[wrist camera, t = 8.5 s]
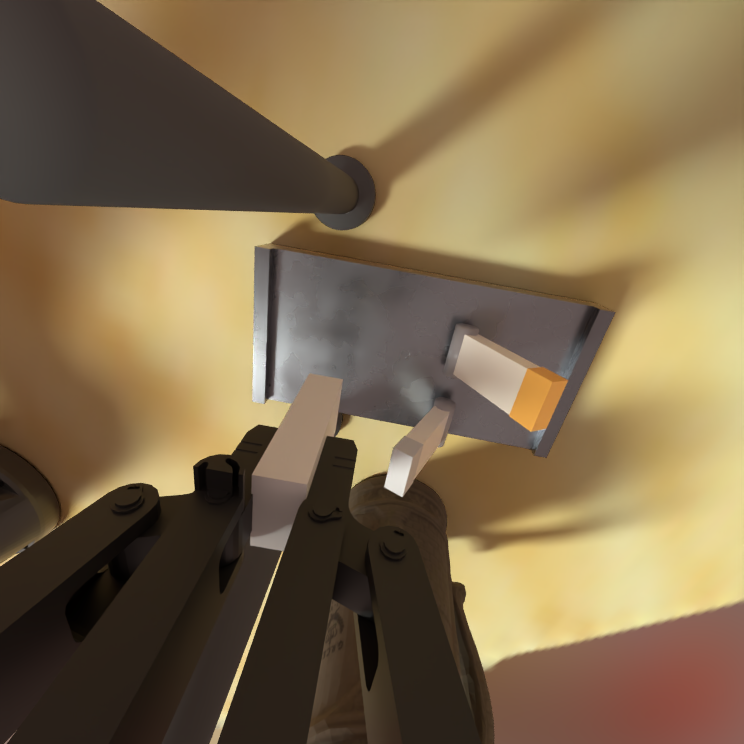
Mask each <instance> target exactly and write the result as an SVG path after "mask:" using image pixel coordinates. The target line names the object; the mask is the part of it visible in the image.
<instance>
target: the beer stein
mask: <svg viewBox="0 0 744 744" xmlns="http://www.w3.org/2000/svg"><path fill="white" fill-rule="evenodd" d="M386 477H387V475H384V476H377V477H373V478H370V479H367V480H364V481H362V482H360V483H359V484H357V485H356V486H355V487H353V488H352V489H351V491H350V497H349V509H350V512H351V514H352V516H353V517H354V518H355V519H356V520H357V521H358V522H359V523H360V524H362V525H364V526H365V527H367V528H369V529H371V530H373V531H375V530H376V529H378V528H379V527H384V526H395V527H399V528H401V529H403V530H405V531H407V532H408V533H409V534H410V535H411V536H412V537H413V538H414V540H415V541H416V543H417V545H418V548H419V551H420V554H421V557H422V560H423V563H424V566H425V569H426V572H427V576H428V579H429V582H430V585H431V588H432V591H433V594H434V597H435V600H436V604H437V607H438V610H439V613H440V616H441V619H442V622H443V625H444V628H445V632H446V635H447V638H448V641H449V644H450V647H451V650H452V653H453V656H454V660H455V663H456V666H457V669H458V672H459V675H460V678H461V681H462V685H463V688H464V691H465V694H466V697H467V700H468V703H469V706H470V709H471V713H472V716H473V719H474V722H475V725H476V728H477V731H478V734H479V737H480V741H481V744H494V720H493V714H492V706H491V701H490V696H489V691H488V687H487V683H486V679H485V675H484V671H483V667H482V664H481V661H480V658H479V655H478V651H477V648H476V645H475V643H474V640H473V637H472V635H471V632H470V629H469V626H468V623H467V620H466V616H465V613H464V610H463V603H464V601H465V596H466V591H465V586H464V585H463V584H461V583H458V582H452V579H451V574H450V559H449V550H448V539H447V536H446V527H447V514H446V510H445V507H444V504H443V502H442V500H441V499H440V497H439V496H438V495H437V494H436V493H435V491H434V490H432V489H431V488H429V487H428V486H426V485H425V484H423V483H421V482H419V481H417V480H414V481H413V483H412V485H411V486H410V488H409V489H408V490H407V492H406V493H405V494H404V496H403V497H401V496H399V495H397V494H396V493H394V492H392V491H390V490H388V489H386V488H385V487H384V486H385V481H386ZM307 744H368V741H367V732H366V723H365V714H364V705H363V696H362V687H361V678H360V669H359V660H358V651H357V642H356V633H355V624H354V615H353V611H352V610H350V609H348V608H347V607H345V606H343V605H341V604H340V603H338V602H336V601H335V600H333V599H332V602H331V607H330V613H329V619H328V625H327V630H326V636H325V642H324V647H323V653H322V659H321V665H320V670H319V676H318V682H317V688H316V693H315V699H314V705H313V710H312V716H311V722H310V728H309V733H308V739H307Z"/></svg>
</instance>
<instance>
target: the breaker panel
mask: <svg viewBox="0 0 744 744" xmlns="http://www.w3.org/2000/svg"><path fill="white" fill-rule="evenodd" d="M614 314H615V312H614V311H612V310H609V309H607V308H605V307H603V306H601V305H599V304H596V303H594V302H589V301H583V300H578V299H572V298H567V297H561V296H556V295H550V294H545V293H539V292H534V291H529V290H523V289H518V288H512V287H507V286H501V285H496V284H490V283H485V282H479V281H474V280H468V279H463V278H457V277H452V276H446V275H441V274H435V273H430V272H424V271H419V270H413V269H408V268H402V267H397V266H391V265H386V264H380V263H375V262H369V261H364V260H358V259H353V258H347V257H342V256H336V255H331V254H325V253H320V252H314V251H309V250H304V249H298V248H293V247H287V246H282V245H276V244H271V243H270V244H265V245H260V246H255V268H254V332H253V396H252V402H257V403H263V404H265V402H266V401H267V400H268V399H270V400H276V401H281V402H286V403H291V404H292V403H293V401H294V400H295V398H296V396H297V394H298V392H299V391H300V389H301V387H302V385H303V384H304V382H305V380H306V378H307V377H308V375H309V373H311V374H316V375H322V376H327V377H333V378H339V379H343V382H342V389H341V396H340V403H339V410H338V413H344V414H349V415H354V416H359V417H365V418H370V419H375V420H380V421H386V422H391V423H396V424H401V425H406V426H412V427H415V426H416V425H417V424H418V423H419V422H420V421H421V420H422V419H423V417H424V416H425V415H426V414H427V413H428V412H429V411H430V410H431V409H432V408H433V406H434V402H435V399H436V398H438V397H445V398H448V399H451V400H452V401H454V402H455V403H456V407H455V411H454V414H453V417H452V420H451V424H450V427H449V430H448V434H454V435H459V436H464V437H469V438H475V439H480V440H485V441H490V442H495V443H501V444H506V445H511V446H516V447H522V448H527V449H531V451H532V453H533V455H535V456H540V457H545V458H547V455H548V453H549V451H550V449H551V447H552V445H553V443H554V441H555V439H556V437H557V434H558V432H559V430H560V428H561V426H562V424H563V422H564V420H565V418H566V415H567V413H568V411H569V409H570V407H571V405H572V403H573V401H574V399H575V397H576V394H577V392H578V390H579V388H580V386H581V384H582V382H583V380H584V378H585V375H586V373H587V371H588V369H589V367H590V365H591V363H592V361H593V359H594V357H595V354H596V352H597V350H598V348H599V346H600V344H601V342H602V340H603V338H604V335H605V333H606V331H607V329H608V327H609V325H610V323H611V321H612V319H613V317H614ZM458 323H463V324H468V325H472V326H475V327H477V328H478V329H479V333H478V334H479V335H481V336H483V337H485V338H486V339H488V340H490V341H492V342H494V343H496V344H498V345H500V346H502V347H504V348H505V349H507V350H509V351H511V352H513V353H515V354H517V355H519V356H521V357H522V358H524V359H526V360H528V361H530V362H532V363H534V364H536V365H538V366H540V367H544V368H546V369H548V370H550V371H552V372H554V373H555V374H557V375H559V376H561V377H563V378H565V379H567V380H568V382H567V384H566V386H565V388H564V391H563V393H562V395H561V397H560V399H559V402H558V404H557V406H556V408H555V411H554V413H553V415H552V417H551V419H550V422H549V424H548V426H547V428H546V429H542V430H538V431H533V432H530V431H529V430H527V429H526V428H525V427H523V426H522V425H521V424H519V423H518V422H516V421H515V420H514V419H512V418H511V417H510V416H509V414H507V413H506V412H505V411H503V410H502V409H500V408H499V407H498V406H496V405H495V404H494V403H492V402H491V401H489V400H488V399H487V398H485V397H484V396H482V395H481V394H480V393H478V392H477V391H475V390H474V389H473V388H471V387H470V386H469V385H467V384H466V383H464V382H463V381H462V380H460V379H453V378H450V377H448V376H446V375H445V374H444V373H443V370H444V366H445V362H446V359H447V355H448V351H449V348H450V344H451V341H452V337H453V333H454V330H455V326H456V324H458Z"/></svg>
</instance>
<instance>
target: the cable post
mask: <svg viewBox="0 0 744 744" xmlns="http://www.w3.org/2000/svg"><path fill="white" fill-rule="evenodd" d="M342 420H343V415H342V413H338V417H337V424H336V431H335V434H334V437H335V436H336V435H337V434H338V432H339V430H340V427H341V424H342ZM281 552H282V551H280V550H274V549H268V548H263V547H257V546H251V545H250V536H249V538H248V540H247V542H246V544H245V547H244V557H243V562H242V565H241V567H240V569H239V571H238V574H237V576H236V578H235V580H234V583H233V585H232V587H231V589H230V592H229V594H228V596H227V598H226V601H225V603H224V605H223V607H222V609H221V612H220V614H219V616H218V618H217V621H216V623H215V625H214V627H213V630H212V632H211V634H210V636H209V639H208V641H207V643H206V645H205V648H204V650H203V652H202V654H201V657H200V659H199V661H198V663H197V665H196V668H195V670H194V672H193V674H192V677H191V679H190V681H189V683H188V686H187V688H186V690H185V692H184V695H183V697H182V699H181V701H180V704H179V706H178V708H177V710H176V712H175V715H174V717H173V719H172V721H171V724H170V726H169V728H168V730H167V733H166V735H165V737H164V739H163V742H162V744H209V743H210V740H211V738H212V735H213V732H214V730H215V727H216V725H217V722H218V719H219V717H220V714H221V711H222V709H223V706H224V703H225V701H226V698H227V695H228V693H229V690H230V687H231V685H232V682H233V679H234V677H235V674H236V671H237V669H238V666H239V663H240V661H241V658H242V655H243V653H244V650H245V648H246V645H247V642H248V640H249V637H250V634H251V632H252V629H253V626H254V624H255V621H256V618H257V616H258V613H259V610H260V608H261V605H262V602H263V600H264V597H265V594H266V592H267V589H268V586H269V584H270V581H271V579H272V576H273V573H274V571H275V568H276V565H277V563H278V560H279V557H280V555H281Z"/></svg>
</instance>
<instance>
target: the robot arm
mask: <svg viewBox="0 0 744 744" xmlns="http://www.w3.org/2000/svg"><path fill="white" fill-rule="evenodd" d="M342 382H343V379H339V378H333V377H327V376H322V375H316V374H311V373H309V375H308V377H307V378H306V380H305V382H304V384H303V385H302V387H301V389H300V391H299V392H298V394H297V396H296V398H295V400H294V401H293V403H292V405H291V407H290V408H289V410H288V412H287V414H286V415H285V417H284V419H283V421H282V422H281V424H280V426H279V428H275V427H270V426H264V425H257V426H256V427H254V428H253V429H251V430H249V431H248V432H247V433H246V435H245V436H244V438H243V439H242V440H241V443H239V445H238V446H237V448H236V450H234V452H233V453H232V455H223V454H219V455H214V456H209V457H207V458H204V459H202V460H200V461H199V462H198V463H197V464H195V465H194V466H193V469H194V484H195V491H194V492H193V493H190V494H184V495H175V496H162V497H159V494H158V490H157V489H156V488H155V487H153V486H152V485H149V484H144V483H136V484H129V485H125V486H122V487H119V488H117V489H115V490H113V491H111V492H109V493H107V494H106V495H104V496H103V497H102V498H100V499H99V500H97V501H96V502H94V503H93V504H91V505H90V506H88V507H87V508H85V509H84V510H83V511H81V512H80V513H78V514H77V515H75V516H74V517H72V518H71V519H69V520H68V521H66V522H65V523H63V524H62V525H61V526H59V527H58V528H56V529H55V530H53V529H54V528H55V527H56V525H57V523H58V521H59V517H60V509H59V504H58V501H57V498H56V496H55V494H54V492H53V490H52V489H51V487H50V486H49V484H48V483H47V481H46V480H45V479H44V478H43V477H42V476H41V474H40V473H39V472H38V471H37V470H36V469H34V468H33V467H32V466H31V465H30V464H29V463H27V462H26V461H25V460H24V459H22V458H21V457H19V456H18V455H16V454H15V453H13V452H12V451H10V450H8V449H6V448H4V447H2V446H0V563H2V562H3V561H5V560H7V559H8V558H10V557H11V556H13V555H14V554H17V553H19V554H18V555H17V556H15V557H14V558H12V559H11V560H9V561H8V562H6V563H5V564H3V565H2V566H0V744H4V743H5V742H6V741H7V740H8V739H9V738H10V737H11V736H12V735H13V733H14V732H15V731H16V730H17V731H16V732H15V734H14V735H13V736H12V738H11V739H10V740H9V742H8V743H7V744H162V742H163V739H164V737H165V735H166V733H167V730H168V728H169V726H170V724H171V721H172V719H173V717H174V715H175V712H176V710H177V708H178V706H179V704H180V701H181V699H182V697H183V695H184V692H185V690H186V688H187V686H188V683H189V681H190V679H191V677H192V674H193V672H194V670H195V668H196V665H197V663H198V661H199V659H200V657H201V654H202V652H203V650H204V648H205V645H206V643H207V641H208V639H209V636H210V634H211V632H212V630H213V627H214V625H215V623H216V621H217V618H218V616H219V614H220V612H221V609H222V607H223V605H224V603H225V601H226V598H227V596H228V594H229V592H230V589H231V587H232V585H233V583H234V580H235V578H236V576H237V574H238V571H239V569H240V567H241V565H242V562H243V557H244V547H245V544H246V542H247V540H248V538H249V536H250V545H251V546H257V547H263V548H268V549H274V550H280V551H284V552H283V555H282V558H281V560H280V563H279V566H278V569H277V572H276V575H275V578H274V581H273V584H272V587H271V589H270V592H269V595H268V598H267V601H266V604H265V607H264V610H263V613H262V616H261V618H260V621H259V624H258V627H257V630H256V633H255V636H254V639H253V642H252V645H251V647H250V650H249V653H248V656H247V659H246V662H245V665H244V668H243V671H242V674H241V676H240V679H239V682H238V685H237V688H236V691H235V694H234V697H233V700H232V703H231V705H230V708H229V711H228V714H227V717H226V720H225V723H224V726H223V729H222V732H221V734H220V737H219V740H218V743H217V744H307V739H308V733H309V728H310V722H311V716H312V710H313V705H314V699H315V693H316V688H317V682H318V676H319V670H320V665H321V659H322V653H323V647H324V642H325V636H326V630H327V625H328V619H329V613H330V607H331V602H332V599H333V600H335V601H336V602H338V603H340V604H341V605H343V606H345V607H347V608H348V609H350V610H352V611H353V615H354V624H355V633H356V642H357V651H358V660H359V669H360V678H361V687H362V696H363V705H364V714H365V723H366V732H367V741H368V744H481V741H480V737H479V734H478V731H477V728H476V725H475V722H474V719H473V716H472V713H471V709H470V706H469V703H468V700H467V697H466V694H465V691H464V688H463V685H462V681H461V678H460V675H459V672H458V669H457V666H456V663H455V660H454V656H453V653H452V650H451V647H450V644H449V641H448V638H447V635H446V632H445V628H444V625H443V622H442V619H441V616H440V613H439V610H438V607H437V604H436V600H435V597H434V594H433V591H432V588H431V585H430V582H429V579H428V576H427V572H426V569H425V566H424V563H423V560H422V557H421V554H420V551H419V548H418V545H417V543H416V541H415V540H414V538H413V537H412V536H411V535H410V534H409V533H408V532H407V531H405V530H403V529H401V528H399V527H395V526H384V527H379V528H378V529H376V530H375V531H373V530H371V529H369V528H367V527H365V526H364V525H362V524H360V523H359V522H358V521H357V520H356V519H355V518H354V517H353V516H352V514H351V512H350V509H349V497H350V491H351V486H352V480H353V474H354V468H355V462H356V456H357V451H358V450H357V448H356V445H355V443H354V440H348V439H342V438H337V437H334V434H335V431H336V424H337V417H338V410H339V403H340V396H341V389H342ZM52 530H53V531H52ZM51 531H52V532H51ZM49 532H50V533H49ZM48 533H49V534H48Z"/></svg>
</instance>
